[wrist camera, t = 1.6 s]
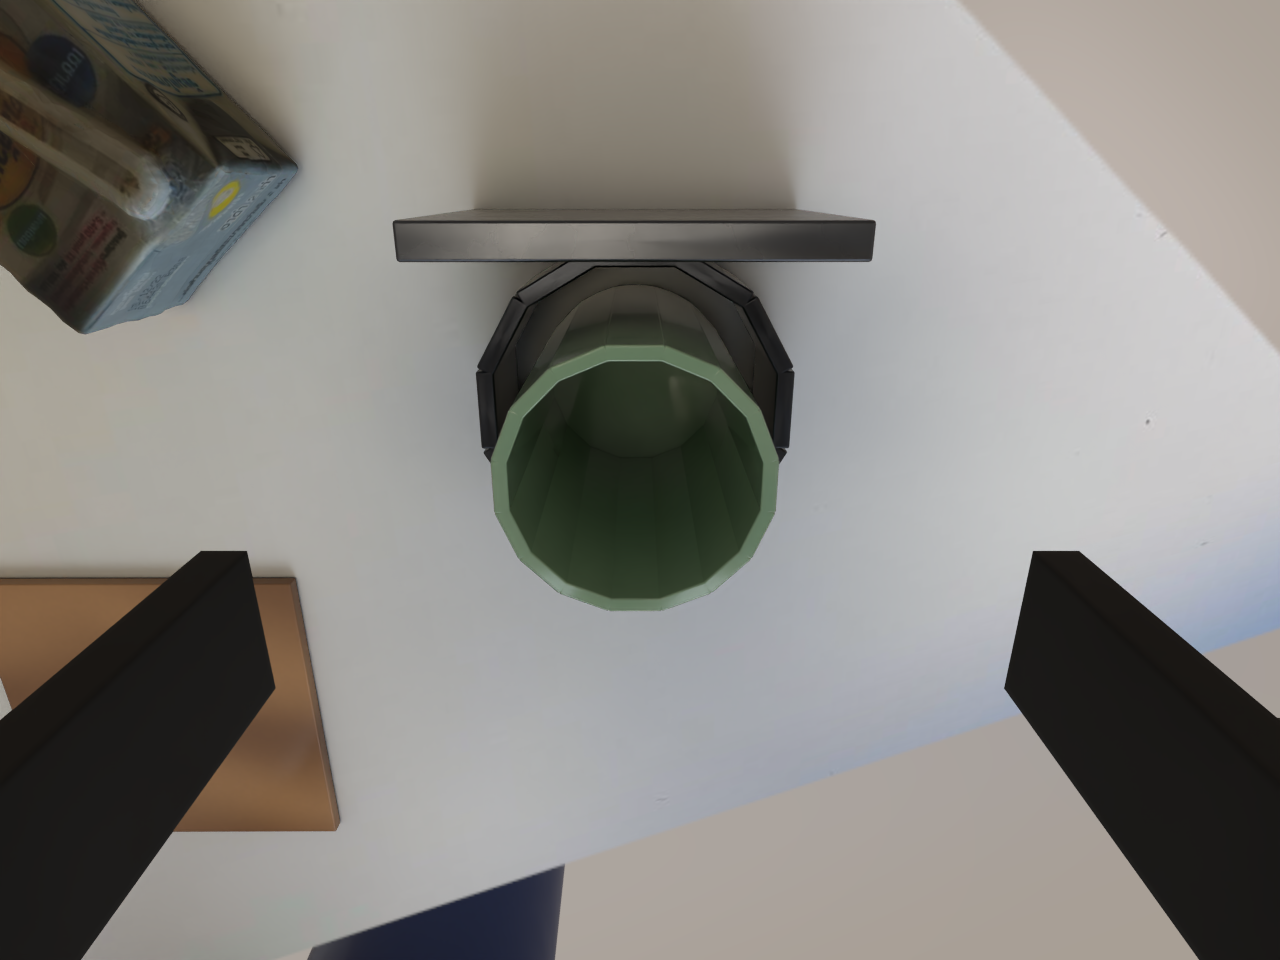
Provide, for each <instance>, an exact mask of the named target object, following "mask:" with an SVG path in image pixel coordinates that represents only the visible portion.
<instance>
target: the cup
mask: <svg viewBox="0 0 1280 960" xmlns="http://www.w3.org/2000/svg"><path fill="white" fill-rule="evenodd" d="M778 459H779V458H778V455H777V452H776V450H775V447H774V444H773V442H772V439H771V436H770V433H769V431H768V428H767V425H766V423H765V420H764V417H763V415H762V412H761V410H760V408H759V406H758V404H757V402H756V401H755V399H754V397H753V395H752V393H751V392H750V390H749V388H748V386H747V384H746V383H745V381H744V379H743V377H742V375H741V374H740V372H739V370H738V368H737V366H736V365H735V363H734V361H733V359H732V357H731V356H730V354H729V352H728V350H727V348H726V347H725V345H724V343H723V341H722V339H721V338H720V336H719V334H718V332H717V330H716V329H715V327H714V326H713V325H712V324H711V323H710V322H709V321H708V320H707V319H706V317H705V316H704V315H703V314H702V313H701V312H700V311H699V310H698V309H697V308H696V307H695V306H694V305H693V304H692V303H691V302H689V301H688V300H686V299H684V298H683V297H681V296H679V295H677V294H675V293H673V292H671V291H668V290H665V289H662V288H659V287H654V286H649V285H637V284H634V285H622V286H617V287H612V288H609V289H606V290H603V291H600V292H598V293H596V294H594V295H592V296H590V297H588V298H587V299H585V300H583V301H582V302H580V303H579V304H578V305H577V306H576V307H575V308H574V309H573V310H572V311H571V312H570V313H569V314H568V315H567V316H566V317H565V319H564V320H563V321H562V322H561V323H560V324H559V325H558V326H557V327H556V329H555V330H554V332H553V334H552V336H551V337H550V339H549V341H548V343H547V344H546V346H545V348H544V350H543V351H542V353H541V355H540V357H539V358H538V360H537V362H536V364H535V365H534V367H533V369H532V371H531V372H530V374H529V376H528V377H527V379H526V381H525V383H524V384H523V386H522V388H521V390H520V391H519V393H518V395H517V397H516V398H515V400H514V402H513V404H512V405H511V407H510V409H509V411H508V413H507V416H506V419H505V422H504V424H503V427H502V430H501V433H500V435H499V438H498V441H497V444H496V446H495V449H494V452H493V455H492V457H491V474H492V487H493V501H494V512H495V515H496V517H497V519H498V521H499V523H500V524H501V526H502V528H503V530H504V532H505V534H506V536H507V538H508V540H509V542H510V543H511V545H512V547H513V549H514V551H515V553H516V555H517V557H518V558H519V559H520V561H521V562H523V563H524V564H525V565H526V566H527V567H529V568H530V569H531V570H532V571H533V572H534V573H536V574H537V575H538V576H539V577H540V578H542V579H543V580H544V581H545V582H546V583H547V584H549V585H550V586H551V587H552V588H553V589H555V590H556V591H557V592H560V594H562V595H565V596H568V597H571V598H574V599H576V600H579V601H582V602H585V603H588V604H590V605H593V606H596V607H599V608H602V609H605V610H609V611H661V610H666V609H669V608H671V607H674V606H677V605H680V604H682V603H685V602H688V601H691V600H693V599H696V598H699V597H702V596H704V595H707V594H710V593H711V592H713V591H714V590H715V589H717V588H718V587H719V586H720V585H721V584H723V583H724V582H725V581H726V580H727V579H728V578H730V577H731V576H732V575H733V574H734V573H735V572H737V571H738V570H739V569H740V568H741V567H742V566H744V565H745V564H746V563H747V562H748V561H749V560H750V559H751V558H752V557H753V555H754V553H755V551H756V549H757V547H758V545H759V543H760V541H761V539H762V537H763V536H764V534H765V532H766V530H767V528H768V526H769V524H770V522H771V520H772V518H773V516H774V514H775V511H776V499H777V484H778V470H779V460H778Z"/></svg>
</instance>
